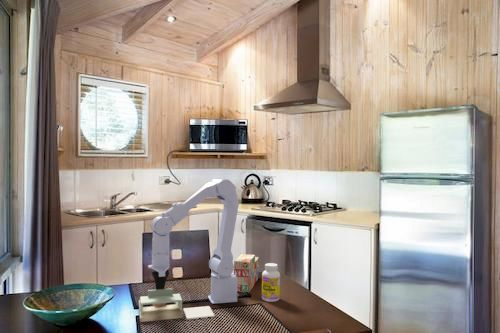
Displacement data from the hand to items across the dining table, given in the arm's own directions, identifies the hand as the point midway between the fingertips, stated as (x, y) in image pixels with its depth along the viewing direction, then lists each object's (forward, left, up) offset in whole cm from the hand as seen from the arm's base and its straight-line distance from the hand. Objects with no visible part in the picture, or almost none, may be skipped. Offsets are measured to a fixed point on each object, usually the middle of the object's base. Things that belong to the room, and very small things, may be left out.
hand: (159, 292), depth 133 cm
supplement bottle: (-40, 0, -6) cm, 40 cm away
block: (0, -3, -6) cm, 6 cm away
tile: (-12, +7, -6) cm, 15 cm away
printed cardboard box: (-37, -19, -6) cm, 42 cm away
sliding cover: (0, +4, -4) cm, 6 cm away
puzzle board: (0, +1, -6) cm, 6 cm away
